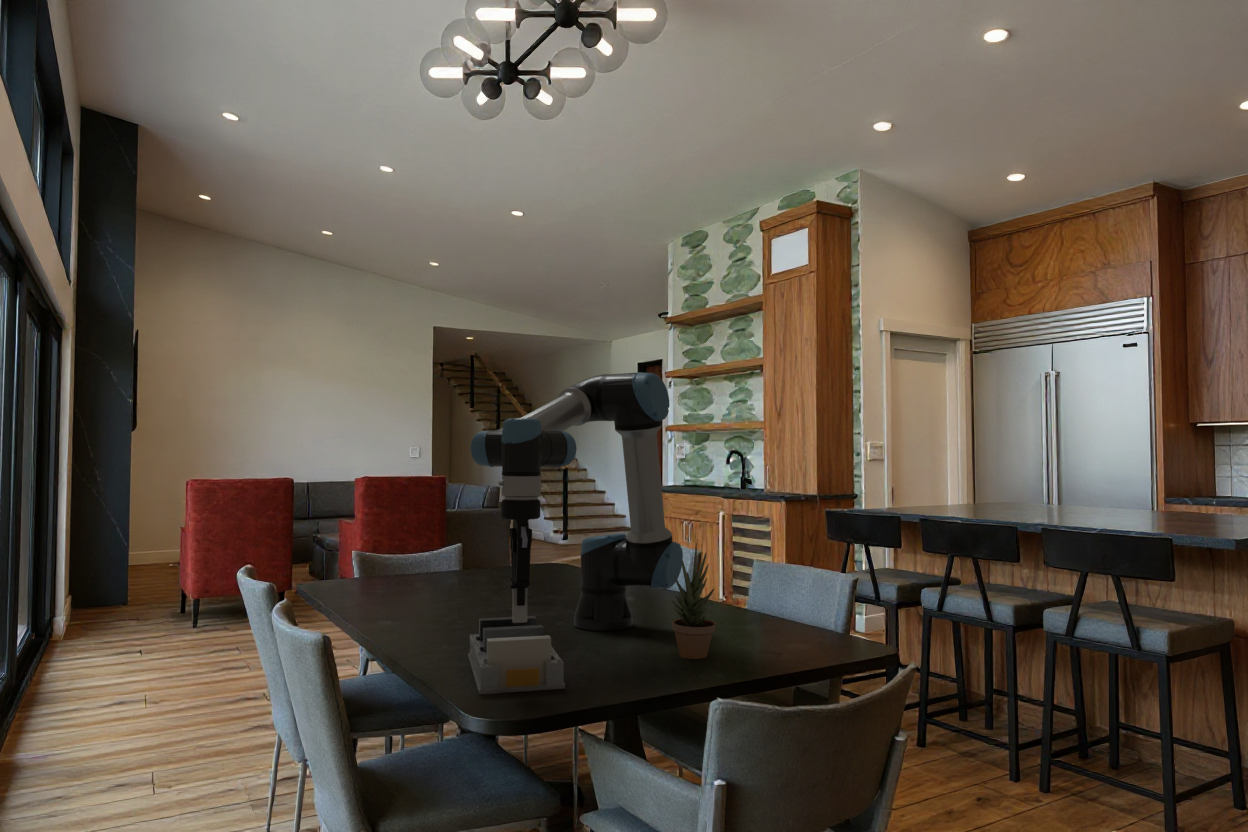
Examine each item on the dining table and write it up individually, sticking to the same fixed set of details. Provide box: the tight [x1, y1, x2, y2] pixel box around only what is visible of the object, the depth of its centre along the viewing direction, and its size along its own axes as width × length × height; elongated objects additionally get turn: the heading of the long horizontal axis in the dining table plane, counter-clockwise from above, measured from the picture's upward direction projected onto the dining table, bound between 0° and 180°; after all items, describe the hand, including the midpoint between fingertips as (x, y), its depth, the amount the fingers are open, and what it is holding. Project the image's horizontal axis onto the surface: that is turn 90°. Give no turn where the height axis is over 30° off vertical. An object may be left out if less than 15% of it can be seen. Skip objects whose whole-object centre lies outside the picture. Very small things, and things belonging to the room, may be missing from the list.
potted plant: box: [671, 542, 716, 660], centre depth 183 cm, size 10×10×25 cm
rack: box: [467, 615, 566, 695], centre depth 169 cm, size 29×16×9 cm, turn 14°
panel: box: [487, 634, 552, 684], centre depth 159 cm, size 3×12×8 cm, turn 105°
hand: (519, 621), depth 159 cm, fingers closed
